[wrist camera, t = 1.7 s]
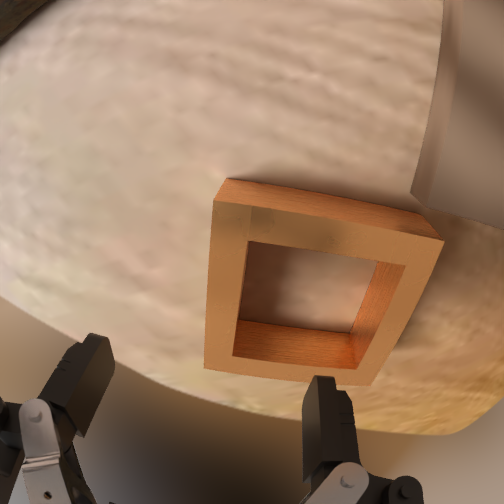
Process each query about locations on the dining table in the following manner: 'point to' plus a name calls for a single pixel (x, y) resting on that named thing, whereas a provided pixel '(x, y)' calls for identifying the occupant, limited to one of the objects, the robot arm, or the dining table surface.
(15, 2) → the hand tool
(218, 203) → the link
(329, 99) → the dining table surface
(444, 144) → the keeper
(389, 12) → the dining table surface
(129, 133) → the dining table surface
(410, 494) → the robot arm
